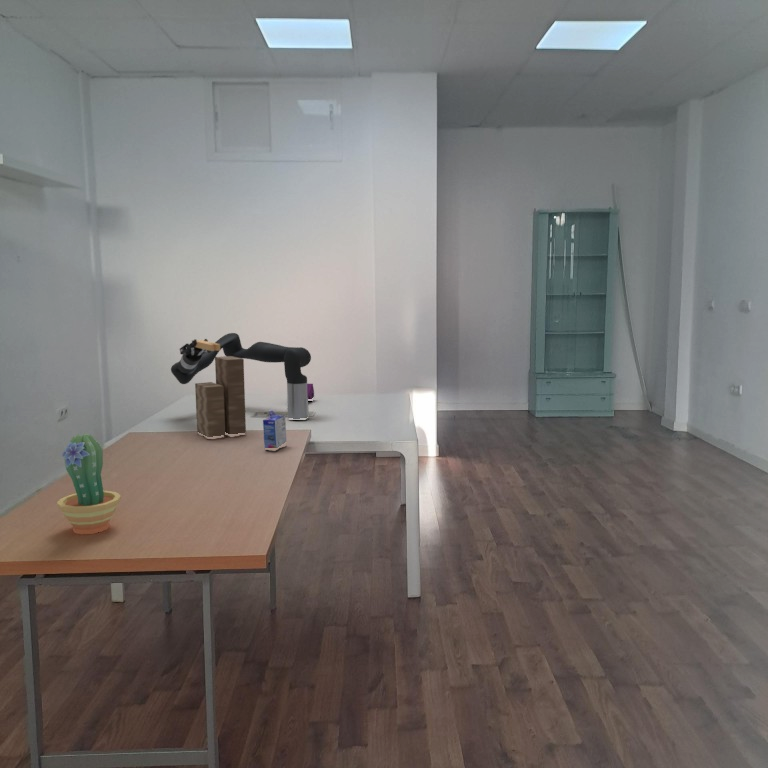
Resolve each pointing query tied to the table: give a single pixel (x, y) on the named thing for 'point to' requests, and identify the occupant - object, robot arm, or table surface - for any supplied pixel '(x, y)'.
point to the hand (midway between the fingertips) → (201, 341)
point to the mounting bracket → (310, 391)
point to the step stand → (222, 399)
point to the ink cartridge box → (274, 430)
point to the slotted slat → (207, 345)
